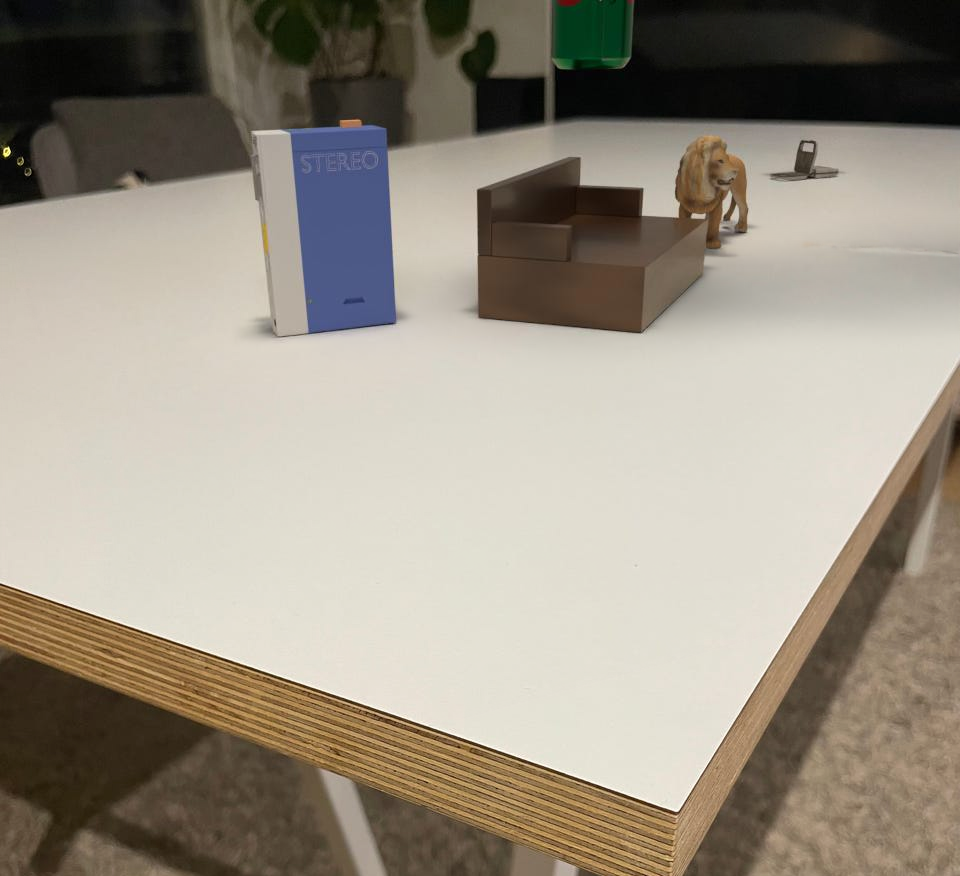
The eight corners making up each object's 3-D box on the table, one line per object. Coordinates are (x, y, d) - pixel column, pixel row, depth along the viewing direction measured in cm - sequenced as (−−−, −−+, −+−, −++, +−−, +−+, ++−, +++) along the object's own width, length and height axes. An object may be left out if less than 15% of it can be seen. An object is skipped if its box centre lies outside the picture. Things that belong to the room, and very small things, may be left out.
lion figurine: (728, 258, 84) (739, 138, 80) (662, 254, 86) (670, 136, 81) (752, 227, 96) (763, 122, 92) (694, 224, 98) (703, 120, 94)
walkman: (383, 313, 69) (372, 118, 64) (396, 323, 67) (386, 122, 62) (266, 326, 67) (244, 124, 61) (276, 337, 65) (254, 128, 59)
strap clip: (823, 173, 128) (827, 136, 126) (840, 176, 126) (845, 138, 124) (767, 178, 125) (771, 140, 123) (784, 181, 123) (788, 142, 121)
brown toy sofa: (703, 273, 79) (712, 161, 75) (641, 332, 64) (649, 197, 61) (565, 263, 83) (568, 156, 79) (478, 317, 68) (476, 189, 65)
